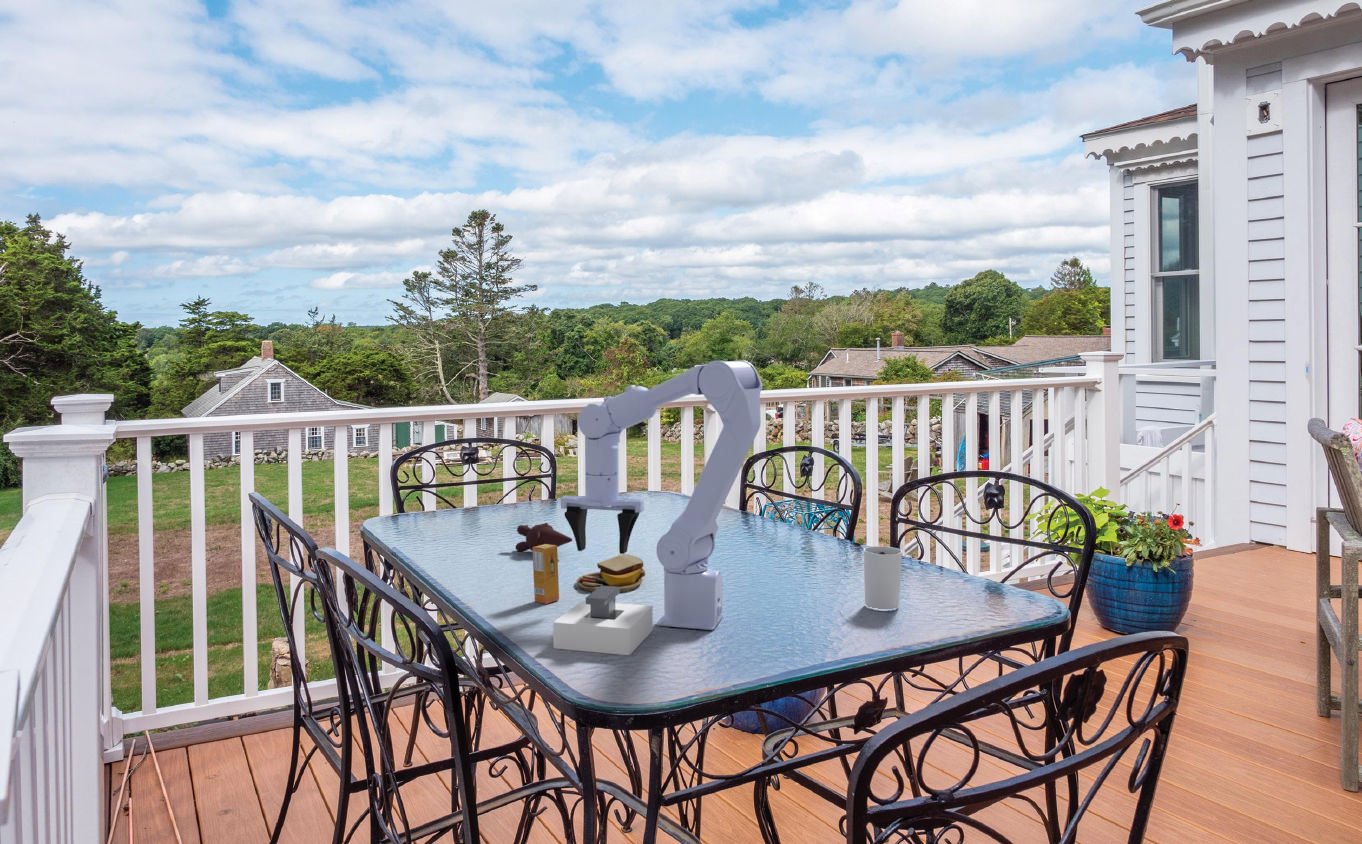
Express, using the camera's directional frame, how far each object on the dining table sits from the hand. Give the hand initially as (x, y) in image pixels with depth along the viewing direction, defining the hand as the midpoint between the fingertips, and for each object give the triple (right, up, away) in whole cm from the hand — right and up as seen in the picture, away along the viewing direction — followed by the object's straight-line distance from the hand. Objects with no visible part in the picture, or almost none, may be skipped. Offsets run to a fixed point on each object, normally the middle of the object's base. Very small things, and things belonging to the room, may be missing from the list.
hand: (602, 551), depth 155 cm
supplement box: (-10, -10, +5) cm, 15 cm away
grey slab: (+2, -10, -17) cm, 20 cm away
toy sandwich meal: (0, -9, +16) cm, 19 cm away
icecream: (-16, -7, +41) cm, 44 cm away
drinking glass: (+49, -10, +2) cm, 50 cm away
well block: (+2, -11, -16) cm, 20 cm away
